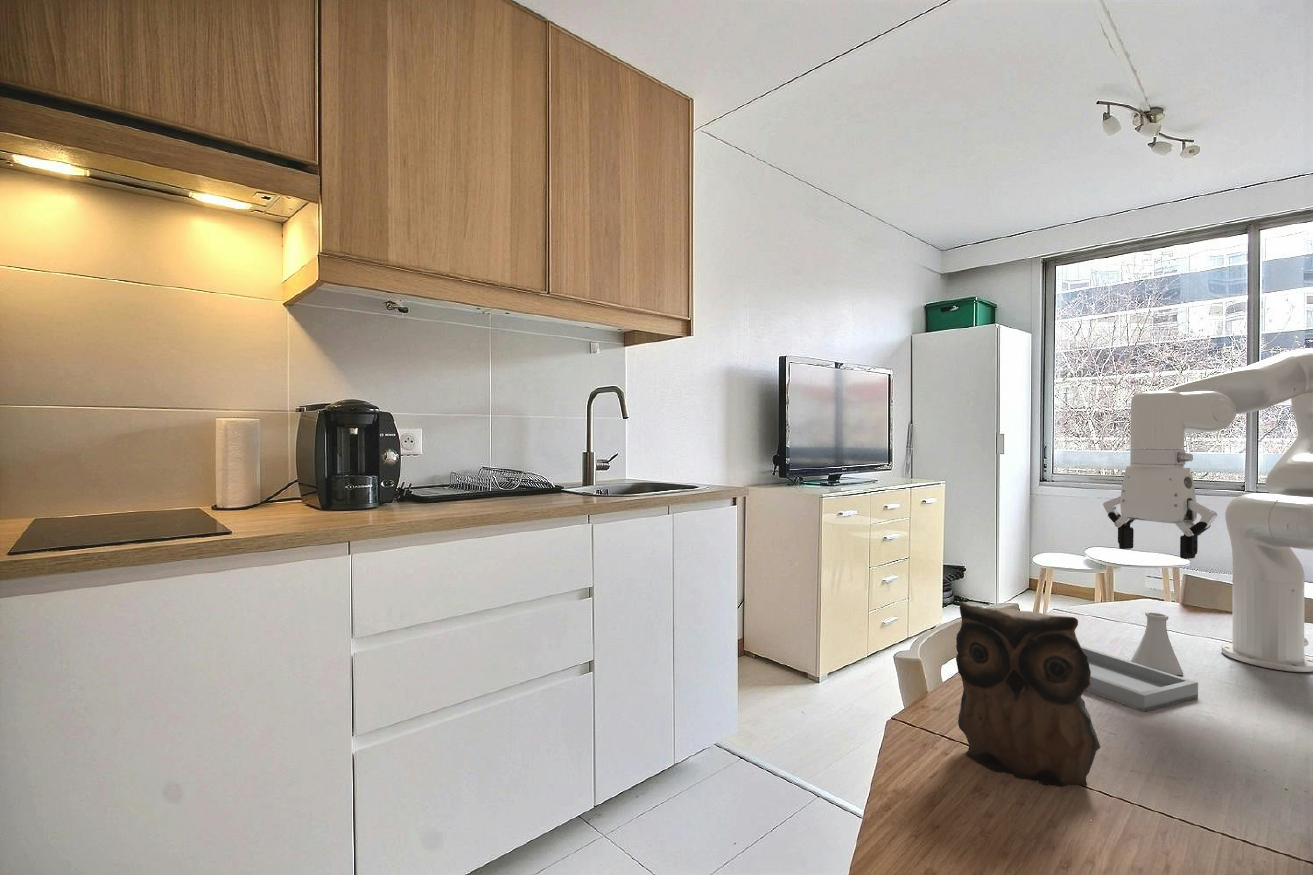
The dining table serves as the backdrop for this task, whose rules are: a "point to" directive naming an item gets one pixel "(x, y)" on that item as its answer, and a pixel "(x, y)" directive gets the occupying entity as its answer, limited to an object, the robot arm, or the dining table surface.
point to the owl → (1025, 695)
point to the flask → (1157, 646)
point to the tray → (1136, 683)
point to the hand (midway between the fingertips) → (1155, 553)
